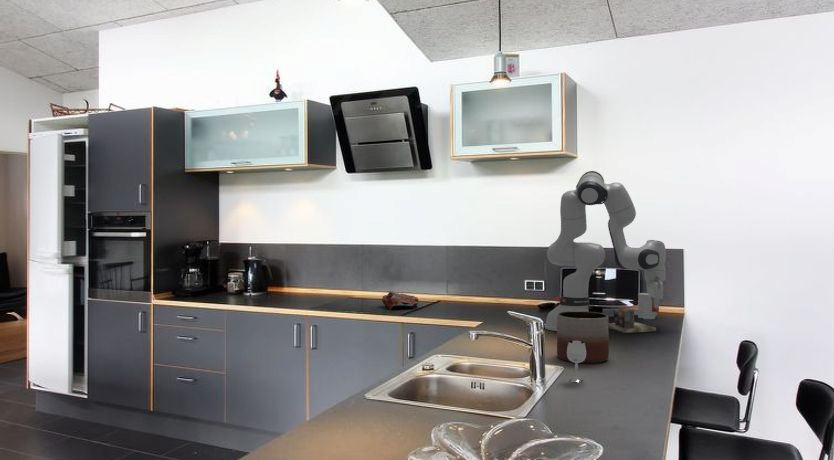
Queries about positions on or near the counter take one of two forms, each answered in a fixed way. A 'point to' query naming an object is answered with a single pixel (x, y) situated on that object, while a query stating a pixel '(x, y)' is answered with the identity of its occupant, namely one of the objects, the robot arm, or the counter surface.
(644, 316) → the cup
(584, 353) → the wineglass
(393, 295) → the meat
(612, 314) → the lever
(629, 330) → the press base
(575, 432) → the counter surface
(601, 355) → the planter
